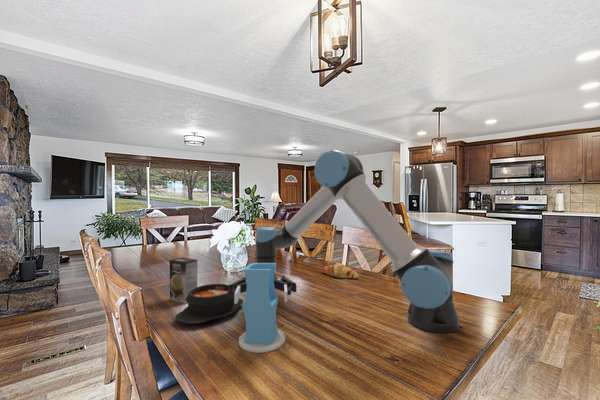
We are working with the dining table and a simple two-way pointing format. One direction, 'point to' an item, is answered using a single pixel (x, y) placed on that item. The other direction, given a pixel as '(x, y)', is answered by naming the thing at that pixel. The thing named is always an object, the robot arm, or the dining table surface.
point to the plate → (262, 347)
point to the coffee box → (182, 278)
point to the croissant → (340, 271)
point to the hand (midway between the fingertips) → (261, 297)
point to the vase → (260, 303)
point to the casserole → (208, 304)
